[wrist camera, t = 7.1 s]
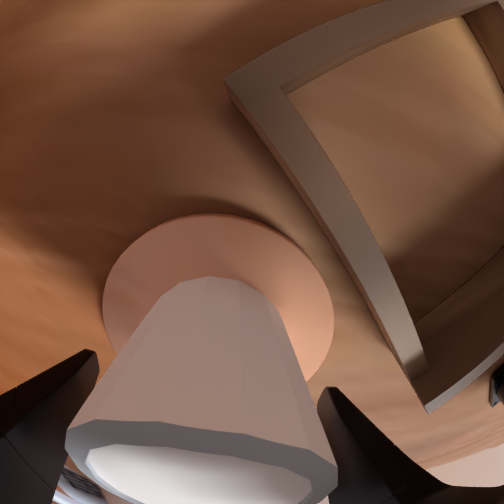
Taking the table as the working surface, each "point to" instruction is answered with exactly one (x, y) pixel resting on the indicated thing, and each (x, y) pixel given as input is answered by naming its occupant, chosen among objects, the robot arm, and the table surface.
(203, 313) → the white cup
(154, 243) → the terracotta saucer
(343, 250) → the brown wooden square tray
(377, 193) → the table surface
